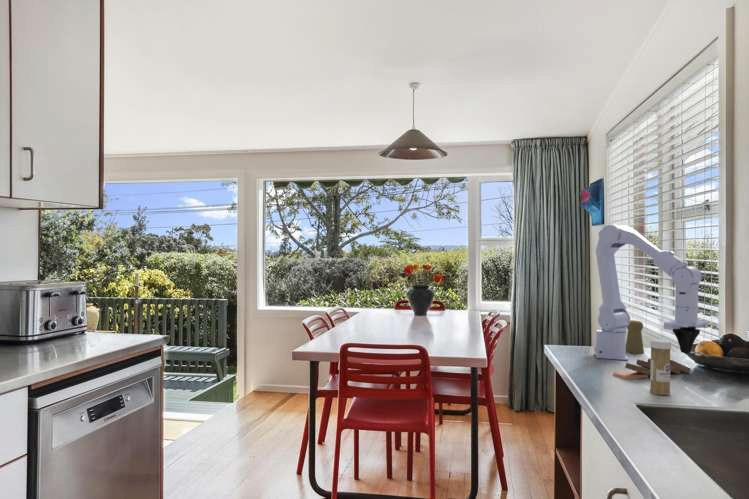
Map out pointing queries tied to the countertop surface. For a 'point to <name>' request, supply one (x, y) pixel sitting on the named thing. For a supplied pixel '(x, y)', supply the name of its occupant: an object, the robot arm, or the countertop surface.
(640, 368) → the domino
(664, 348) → the toothpick jar
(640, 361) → the domino
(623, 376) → the domino
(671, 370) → the domino
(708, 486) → the countertop surface
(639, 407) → the countertop surface
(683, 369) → the domino
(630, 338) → the cork
